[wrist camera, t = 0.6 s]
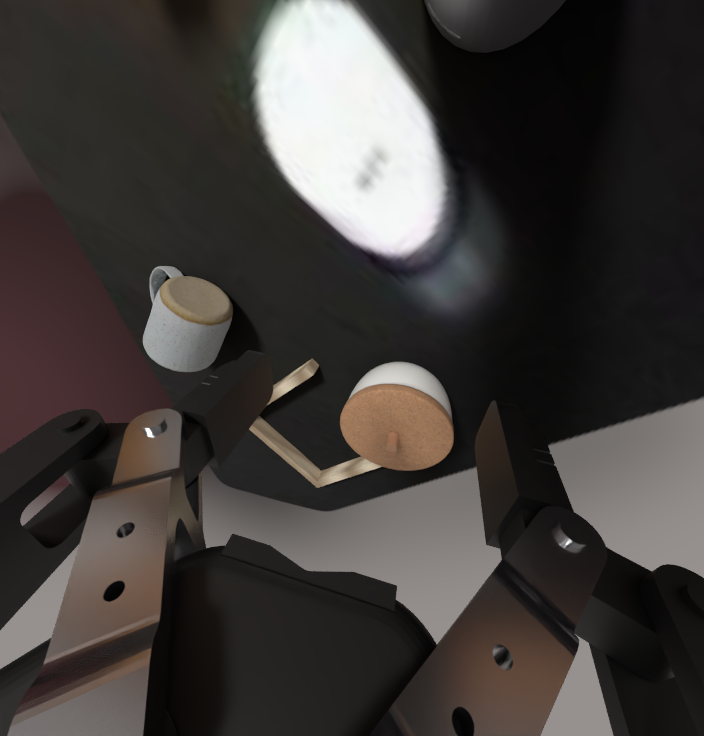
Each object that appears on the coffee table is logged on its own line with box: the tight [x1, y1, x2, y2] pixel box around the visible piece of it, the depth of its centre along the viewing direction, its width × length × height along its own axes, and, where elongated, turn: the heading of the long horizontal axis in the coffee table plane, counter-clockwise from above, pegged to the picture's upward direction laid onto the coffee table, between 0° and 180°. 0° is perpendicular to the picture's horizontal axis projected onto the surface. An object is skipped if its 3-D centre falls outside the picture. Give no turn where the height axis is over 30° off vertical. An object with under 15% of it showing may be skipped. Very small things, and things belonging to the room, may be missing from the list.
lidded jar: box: [340, 362, 454, 471], centre depth 30 cm, size 11×11×9 cm
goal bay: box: [249, 358, 382, 488], centre depth 41 cm, size 16×17×2 cm
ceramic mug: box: [143, 266, 233, 372], centre depth 32 cm, size 11×8×8 cm
